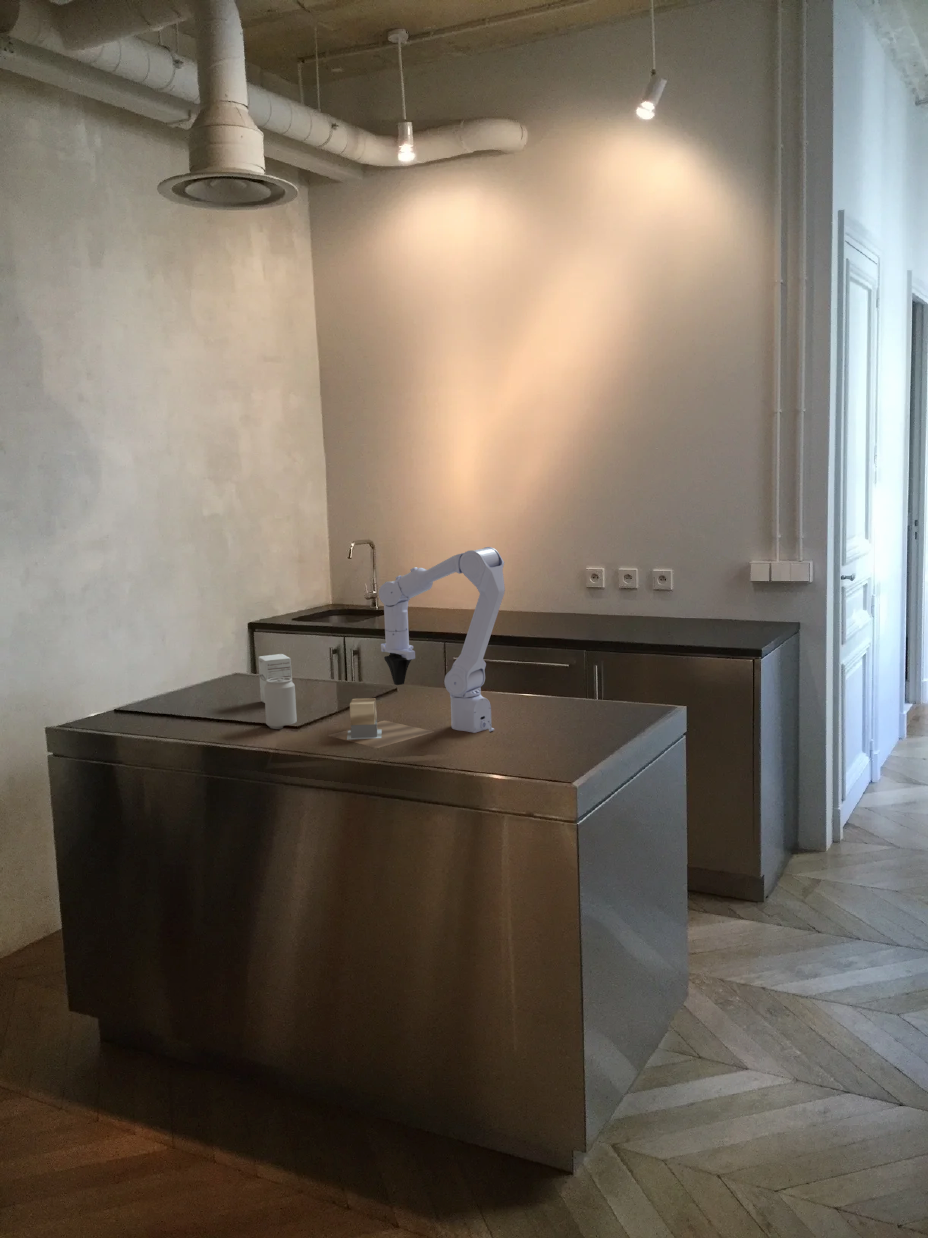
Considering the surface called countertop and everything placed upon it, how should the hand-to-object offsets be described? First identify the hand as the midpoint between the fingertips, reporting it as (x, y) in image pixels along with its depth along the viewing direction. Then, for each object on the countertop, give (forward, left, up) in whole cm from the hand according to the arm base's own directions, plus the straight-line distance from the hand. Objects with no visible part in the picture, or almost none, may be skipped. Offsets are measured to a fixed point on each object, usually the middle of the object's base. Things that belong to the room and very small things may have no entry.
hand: (399, 684), depth 270 cm
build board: (-7, +12, -10) cm, 17 cm away
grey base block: (-4, +15, -9) cm, 18 cm away
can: (+22, +20, -10) cm, 31 cm away
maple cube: (-4, +15, -6) cm, 17 cm away
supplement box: (+45, +5, -10) cm, 46 cm away
